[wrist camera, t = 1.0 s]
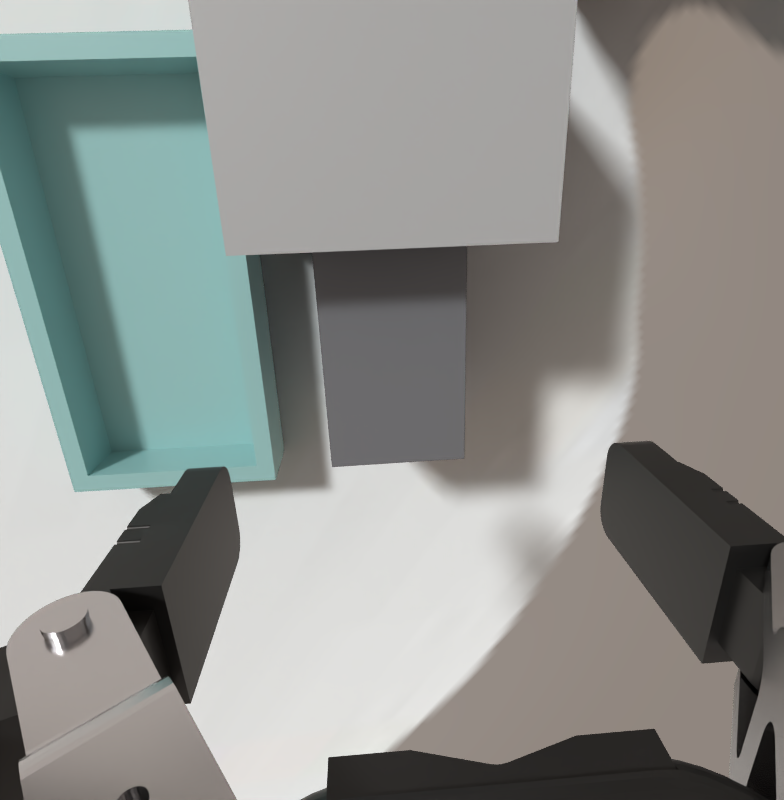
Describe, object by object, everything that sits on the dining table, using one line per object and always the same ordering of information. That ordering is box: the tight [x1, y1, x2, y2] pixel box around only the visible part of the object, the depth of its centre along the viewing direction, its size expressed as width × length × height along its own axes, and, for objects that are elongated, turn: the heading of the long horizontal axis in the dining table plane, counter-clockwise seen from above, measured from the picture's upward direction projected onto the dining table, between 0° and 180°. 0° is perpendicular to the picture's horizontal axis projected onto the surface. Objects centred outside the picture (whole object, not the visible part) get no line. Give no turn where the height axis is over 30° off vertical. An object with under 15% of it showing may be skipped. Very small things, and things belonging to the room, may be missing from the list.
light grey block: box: [188, 0, 578, 256], centre depth 17 cm, size 9×9×10 cm
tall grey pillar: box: [312, 246, 467, 467], centre depth 21 cm, size 13×5×8 cm, turn 2°
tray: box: [0, 30, 284, 492], centre depth 23 cm, size 18×9×3 cm, turn 2°
